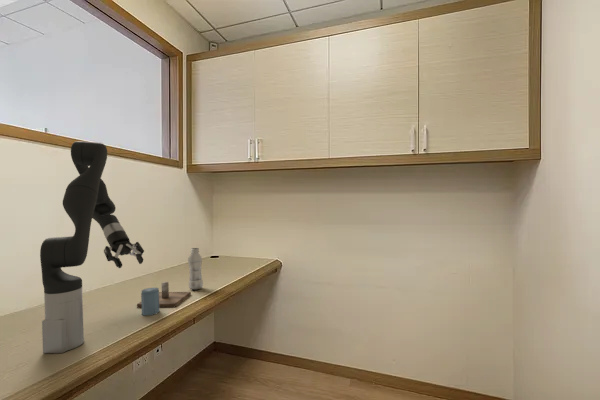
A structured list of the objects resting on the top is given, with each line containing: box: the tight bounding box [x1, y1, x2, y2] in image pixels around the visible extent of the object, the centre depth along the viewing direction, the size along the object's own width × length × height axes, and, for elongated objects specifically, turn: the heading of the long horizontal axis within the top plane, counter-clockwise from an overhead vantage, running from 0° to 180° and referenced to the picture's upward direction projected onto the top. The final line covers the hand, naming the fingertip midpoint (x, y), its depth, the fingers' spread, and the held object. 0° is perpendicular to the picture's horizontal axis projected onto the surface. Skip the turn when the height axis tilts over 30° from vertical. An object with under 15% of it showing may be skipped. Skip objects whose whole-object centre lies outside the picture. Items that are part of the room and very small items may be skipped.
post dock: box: [136, 281, 192, 309], centre depth 134 cm, size 16×16×8 cm
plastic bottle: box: [187, 247, 204, 291], centre depth 151 cm, size 6×7×20 cm
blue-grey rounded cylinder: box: [140, 287, 161, 317], centre depth 120 cm, size 6×6×9 cm
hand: (131, 264), depth 126 cm, fingers open, 8 cm apart
